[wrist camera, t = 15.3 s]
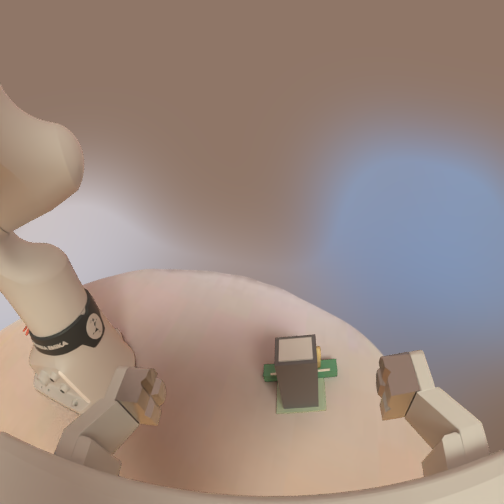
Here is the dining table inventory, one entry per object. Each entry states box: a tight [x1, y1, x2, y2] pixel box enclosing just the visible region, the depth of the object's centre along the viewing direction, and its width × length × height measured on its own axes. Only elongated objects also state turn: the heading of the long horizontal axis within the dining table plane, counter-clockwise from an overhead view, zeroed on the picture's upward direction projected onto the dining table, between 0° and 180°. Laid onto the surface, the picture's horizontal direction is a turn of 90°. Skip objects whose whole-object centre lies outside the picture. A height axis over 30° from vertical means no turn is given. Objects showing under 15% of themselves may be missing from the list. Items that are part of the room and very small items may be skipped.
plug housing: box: [274, 334, 319, 409], centre depth 35 cm, size 4×4×10 cm
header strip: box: [263, 346, 337, 382], centre depth 40 cm, size 10×2×6 cm, turn 85°
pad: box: [276, 378, 326, 414], centre depth 38 cm, size 6×5×1 cm
